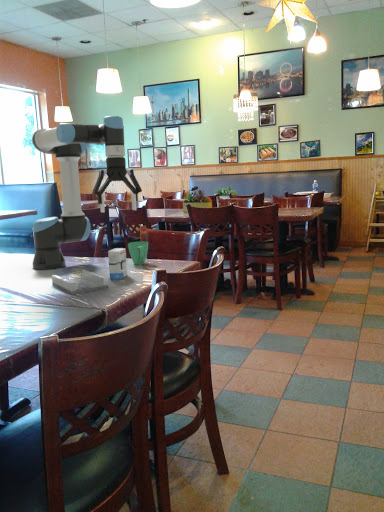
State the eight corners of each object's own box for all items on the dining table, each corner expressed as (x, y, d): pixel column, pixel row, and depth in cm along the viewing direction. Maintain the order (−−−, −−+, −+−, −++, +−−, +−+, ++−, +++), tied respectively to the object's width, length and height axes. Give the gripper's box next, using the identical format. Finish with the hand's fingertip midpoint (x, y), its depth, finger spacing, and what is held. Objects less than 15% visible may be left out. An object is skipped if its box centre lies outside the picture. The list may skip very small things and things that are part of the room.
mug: (127, 262, 218) (126, 242, 217) (146, 261, 221) (145, 241, 220) (132, 268, 205) (131, 246, 203) (153, 266, 208) (152, 245, 206)
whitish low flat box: (52, 285, 176) (51, 275, 175) (85, 279, 184) (85, 270, 183) (72, 294, 160) (71, 283, 159) (107, 288, 168) (107, 277, 168)
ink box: (120, 279, 182) (118, 251, 180) (109, 279, 183) (107, 251, 181) (127, 275, 190) (126, 247, 188) (116, 275, 191) (115, 247, 189)
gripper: (88, 156, 166) (92, 213, 170) (148, 156, 179) (150, 209, 183) (81, 157, 172) (85, 212, 176) (140, 157, 185) (142, 208, 189)
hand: (118, 211), depth 179 cm, fingers open, 13 cm apart
